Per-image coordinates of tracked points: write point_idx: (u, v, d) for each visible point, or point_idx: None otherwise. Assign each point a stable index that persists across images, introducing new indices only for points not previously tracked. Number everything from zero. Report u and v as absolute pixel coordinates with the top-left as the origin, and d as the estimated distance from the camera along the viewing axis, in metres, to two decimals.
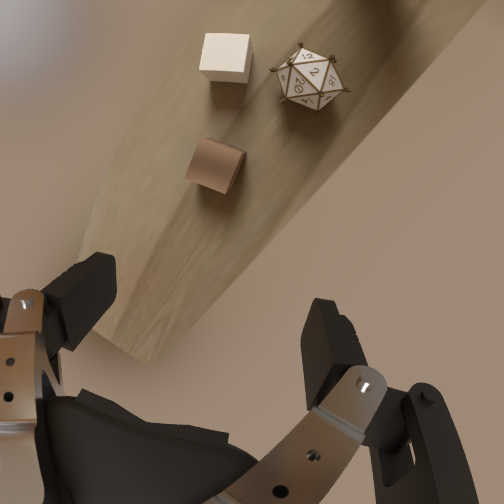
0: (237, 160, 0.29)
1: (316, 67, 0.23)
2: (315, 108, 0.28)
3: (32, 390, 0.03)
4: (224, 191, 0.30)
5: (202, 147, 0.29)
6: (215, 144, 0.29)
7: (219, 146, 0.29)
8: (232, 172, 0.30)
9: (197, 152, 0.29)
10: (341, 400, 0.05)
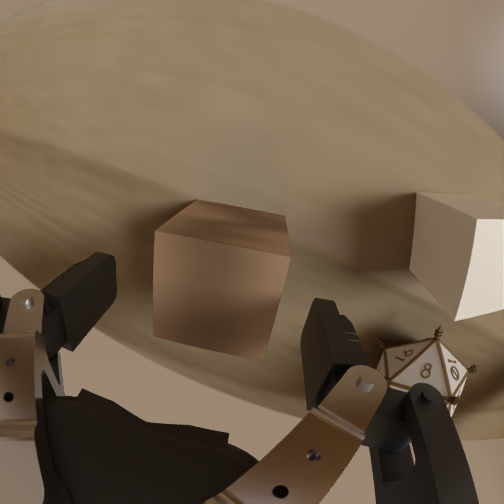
0: (241, 354, 0.11)
1: None
2: None
3: (32, 390, 0.03)
4: (158, 334, 0.11)
5: (258, 268, 0.10)
6: (274, 302, 0.10)
7: (270, 312, 0.11)
8: (209, 347, 0.11)
9: (241, 256, 0.10)
10: (341, 400, 0.05)
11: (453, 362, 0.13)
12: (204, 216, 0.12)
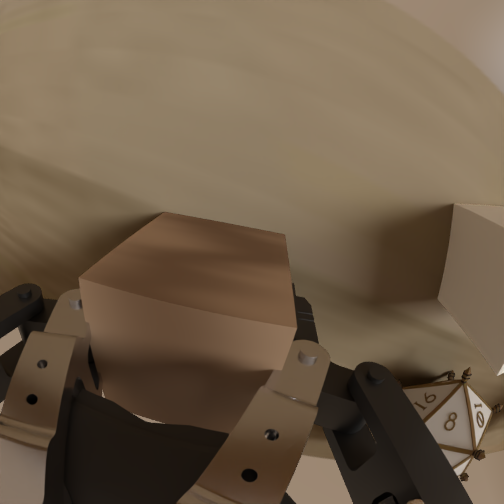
0: None
1: None
2: None
3: (58, 399, 0.03)
4: None
5: (241, 343, 0.06)
6: None
7: None
8: (178, 424, 0.07)
9: (212, 325, 0.06)
10: None
11: (479, 406, 0.09)
12: (165, 242, 0.08)
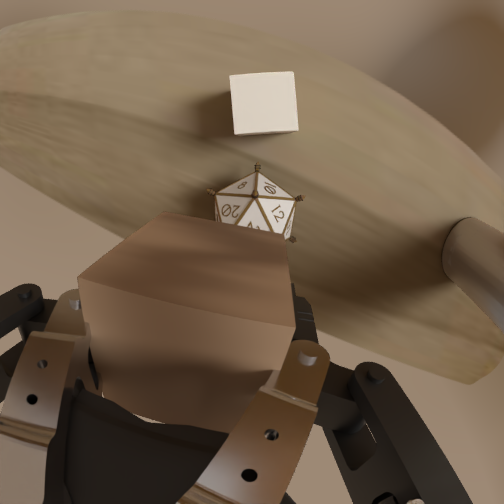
0: None
1: (260, 229, 0.22)
2: None
3: (58, 399, 0.03)
4: None
5: (239, 343, 0.06)
6: None
7: None
8: (177, 424, 0.07)
9: (210, 325, 0.06)
10: None
11: (272, 185, 0.23)
12: (164, 241, 0.08)
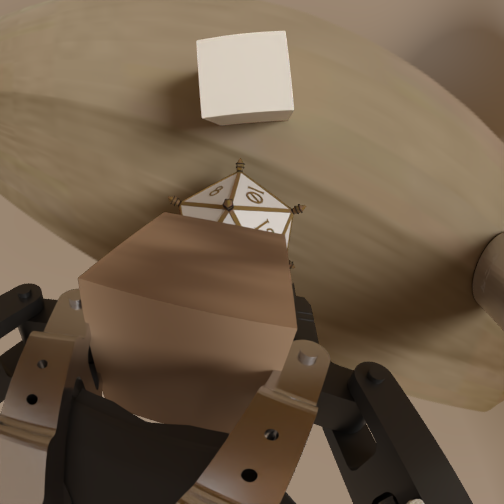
0: None
1: None
2: None
3: (58, 399, 0.03)
4: None
5: (241, 344, 0.06)
6: None
7: None
8: None
9: (212, 326, 0.06)
10: None
11: (258, 191, 0.16)
12: (165, 242, 0.08)
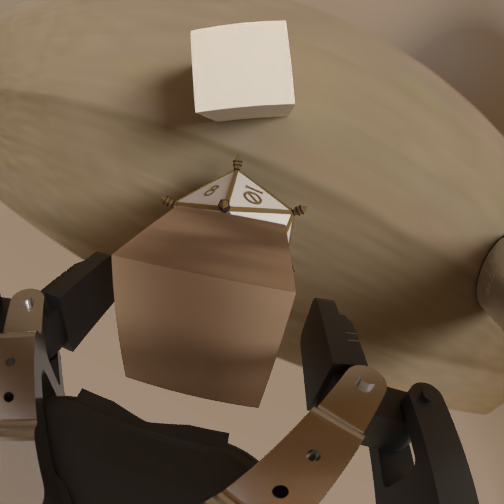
0: (232, 402, 0.09)
1: None
2: None
3: (32, 390, 0.03)
4: (131, 375, 0.09)
5: (250, 307, 0.07)
6: (273, 347, 0.08)
7: (267, 359, 0.08)
8: (191, 392, 0.09)
9: (226, 291, 0.07)
10: (341, 400, 0.05)
11: (256, 191, 0.15)
12: (182, 229, 0.10)
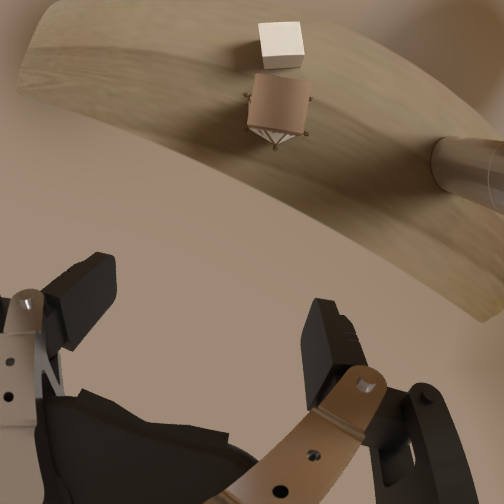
0: (292, 130, 0.22)
1: None
2: None
3: (32, 390, 0.03)
4: (250, 122, 0.22)
5: (299, 86, 0.21)
6: (306, 101, 0.21)
7: (305, 106, 0.21)
8: (276, 127, 0.22)
9: (292, 82, 0.21)
10: (341, 400, 0.05)
11: None
12: None
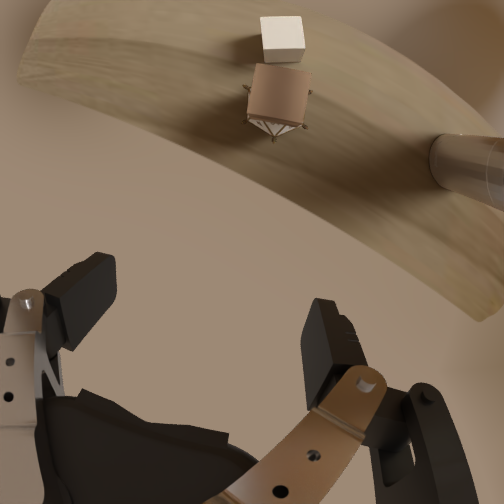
0: (292, 119, 0.22)
1: None
2: (247, 117, 0.31)
3: (32, 390, 0.03)
4: (249, 111, 0.22)
5: (299, 77, 0.21)
6: (306, 91, 0.21)
7: (305, 96, 0.21)
8: (275, 116, 0.22)
9: (292, 72, 0.20)
10: (341, 400, 0.05)
11: None
12: None
